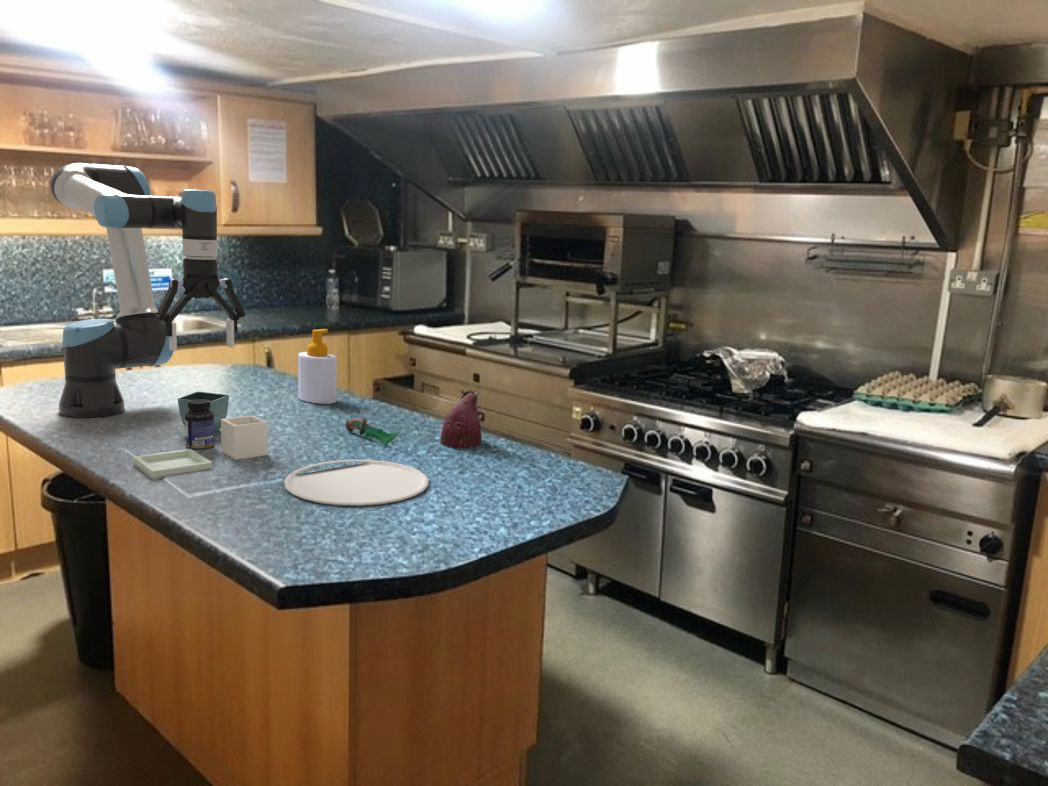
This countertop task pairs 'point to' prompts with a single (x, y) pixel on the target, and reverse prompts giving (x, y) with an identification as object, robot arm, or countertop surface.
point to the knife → (370, 431)
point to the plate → (357, 483)
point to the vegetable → (462, 424)
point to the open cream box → (244, 437)
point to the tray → (171, 463)
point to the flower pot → (216, 406)
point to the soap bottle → (317, 372)
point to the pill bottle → (199, 425)
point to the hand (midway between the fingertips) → (202, 348)
